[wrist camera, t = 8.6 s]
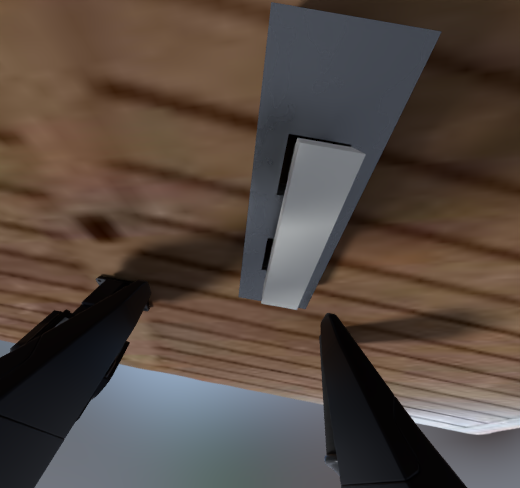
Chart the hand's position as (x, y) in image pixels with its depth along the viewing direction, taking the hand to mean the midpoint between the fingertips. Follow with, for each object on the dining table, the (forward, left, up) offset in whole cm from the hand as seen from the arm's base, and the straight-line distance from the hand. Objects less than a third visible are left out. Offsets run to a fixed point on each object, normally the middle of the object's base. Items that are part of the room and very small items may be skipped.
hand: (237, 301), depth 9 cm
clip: (+1, -3, -11) cm, 11 cm away
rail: (+1, -3, -11) cm, 11 cm away
